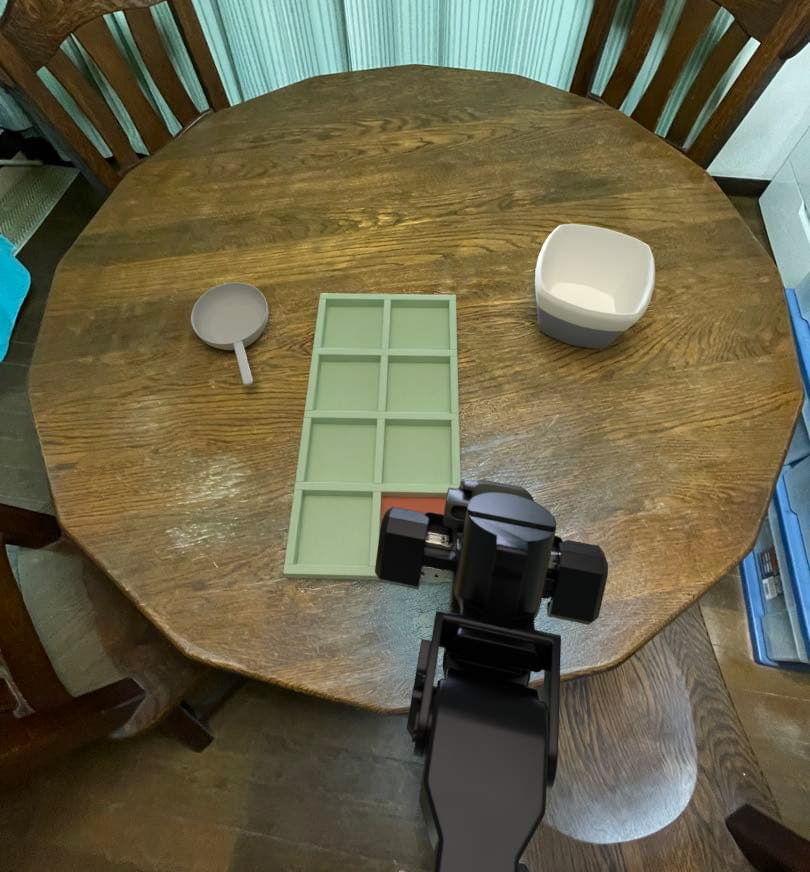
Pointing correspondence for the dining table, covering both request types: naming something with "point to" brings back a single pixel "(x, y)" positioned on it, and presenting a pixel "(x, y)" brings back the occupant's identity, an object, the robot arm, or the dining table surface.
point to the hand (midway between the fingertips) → (488, 516)
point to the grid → (373, 427)
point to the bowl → (592, 284)
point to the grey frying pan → (231, 320)
